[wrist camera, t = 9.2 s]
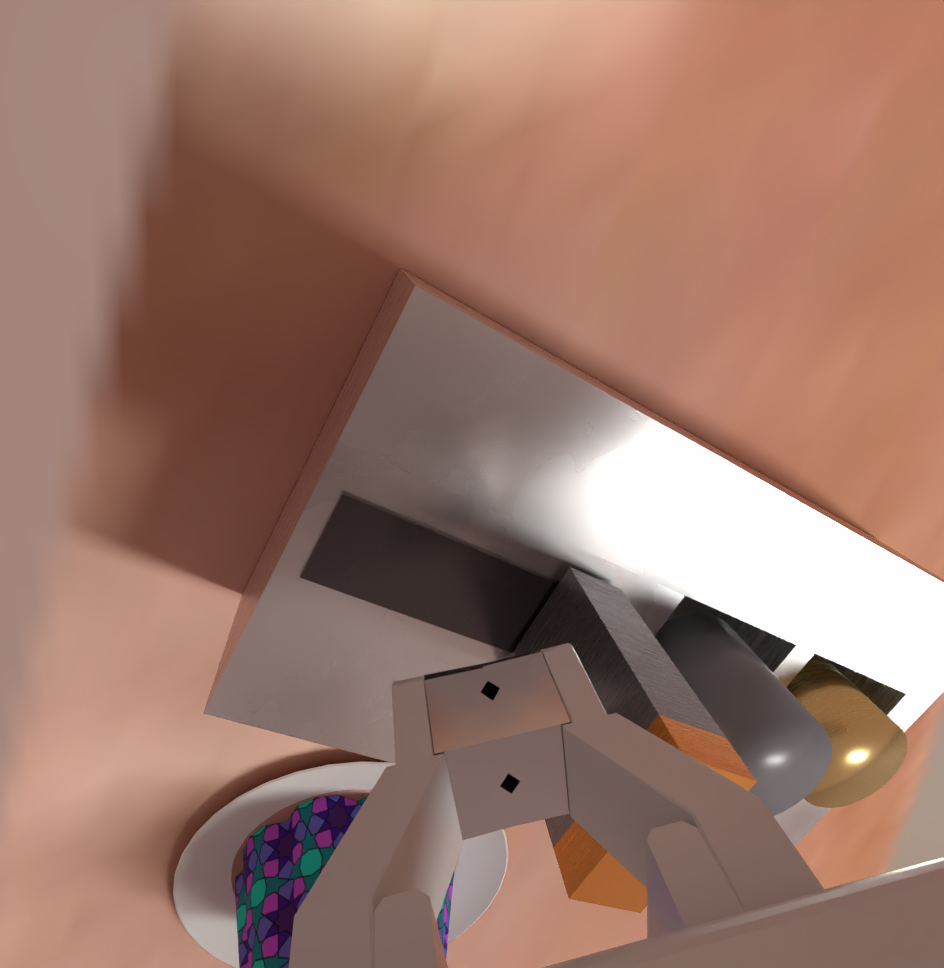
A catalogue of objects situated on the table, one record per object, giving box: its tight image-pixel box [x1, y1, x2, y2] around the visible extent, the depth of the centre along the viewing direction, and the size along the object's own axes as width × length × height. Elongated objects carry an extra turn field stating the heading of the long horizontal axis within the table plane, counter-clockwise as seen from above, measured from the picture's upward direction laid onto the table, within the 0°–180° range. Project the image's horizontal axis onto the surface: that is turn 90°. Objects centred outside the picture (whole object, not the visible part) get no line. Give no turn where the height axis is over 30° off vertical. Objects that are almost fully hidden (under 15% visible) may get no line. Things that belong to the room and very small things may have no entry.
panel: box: [204, 268, 944, 847], centre depth 16 cm, size 10×18×5 cm, turn 61°
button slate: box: [655, 613, 832, 816], centre depth 14 cm, size 3×3×4 cm
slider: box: [510, 567, 757, 913], centre depth 11 cm, size 3×1×5 cm, turn 150°
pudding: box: [173, 761, 508, 968], centre depth 20 cm, size 12×12×5 cm
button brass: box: [786, 654, 907, 808], centre depth 17 cm, size 3×3×4 cm
